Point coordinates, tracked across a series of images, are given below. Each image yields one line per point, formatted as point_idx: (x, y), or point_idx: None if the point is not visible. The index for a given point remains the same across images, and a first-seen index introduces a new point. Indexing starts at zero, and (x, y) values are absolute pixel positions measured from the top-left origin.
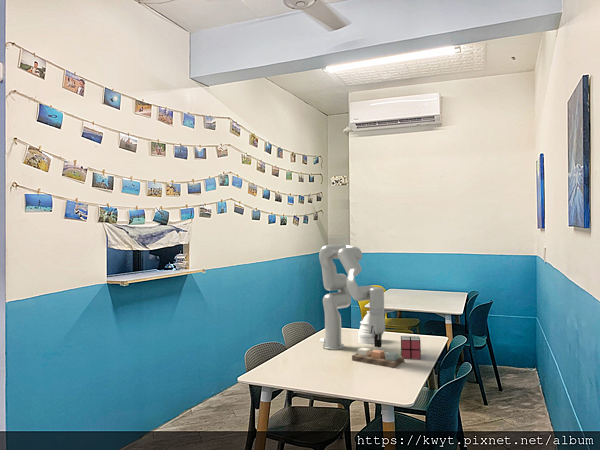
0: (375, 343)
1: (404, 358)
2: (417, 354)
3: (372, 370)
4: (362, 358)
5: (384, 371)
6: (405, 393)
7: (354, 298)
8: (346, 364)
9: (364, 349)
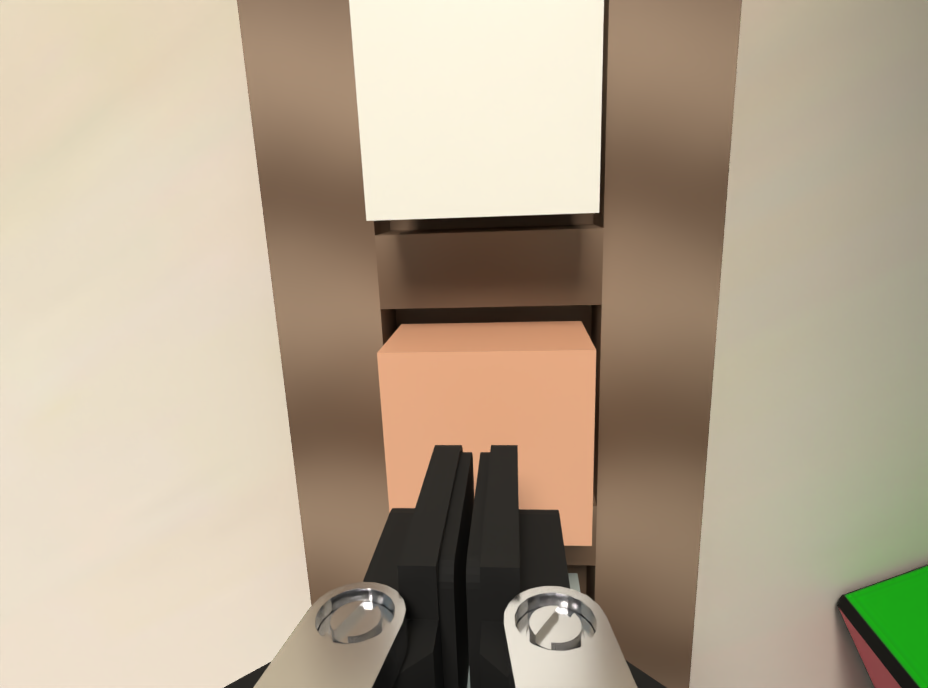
0: (384, 541)
1: (851, 631)
2: None
3: (92, 515)
4: (271, 212)
5: (164, 639)
6: None
7: None
8: (31, 53)
9: (442, 121)
